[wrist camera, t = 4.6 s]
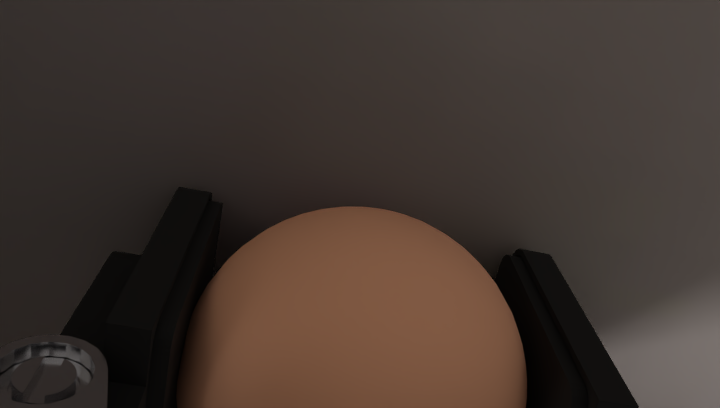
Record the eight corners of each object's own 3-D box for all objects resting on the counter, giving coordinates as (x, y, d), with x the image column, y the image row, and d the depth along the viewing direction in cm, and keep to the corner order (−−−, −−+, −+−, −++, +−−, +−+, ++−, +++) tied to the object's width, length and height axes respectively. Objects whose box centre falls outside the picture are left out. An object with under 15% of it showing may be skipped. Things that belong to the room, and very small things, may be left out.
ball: (229, 129, 11) (151, 301, 6) (524, 186, 11) (647, 381, 7) (195, 372, 13) (116, 634, 8) (445, 410, 13) (500, 675, 9)
